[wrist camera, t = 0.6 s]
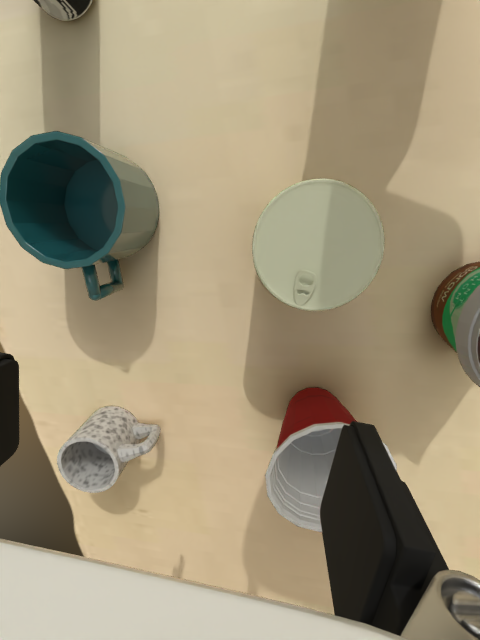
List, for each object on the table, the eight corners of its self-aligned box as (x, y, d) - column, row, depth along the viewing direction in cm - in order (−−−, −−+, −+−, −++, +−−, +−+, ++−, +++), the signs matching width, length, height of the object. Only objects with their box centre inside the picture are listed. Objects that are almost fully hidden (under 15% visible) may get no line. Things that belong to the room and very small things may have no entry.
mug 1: (51, 163, 37) (-18, 144, 28) (148, 145, 35) (107, 120, 27) (83, 292, 40) (31, 311, 31) (173, 280, 39) (144, 297, 30)
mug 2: (98, 458, 45) (70, 496, 39) (80, 411, 44) (47, 443, 37) (174, 445, 44) (157, 483, 37) (158, 396, 42) (137, 427, 36)
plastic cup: (331, 467, 43) (352, 558, 31) (250, 425, 42) (242, 502, 31) (383, 395, 40) (428, 465, 28) (297, 349, 39) (307, 401, 28)
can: (247, 272, 38) (236, 295, 26) (271, 181, 35) (271, 160, 24) (333, 296, 37) (360, 328, 26) (364, 205, 35) (409, 196, 23)
